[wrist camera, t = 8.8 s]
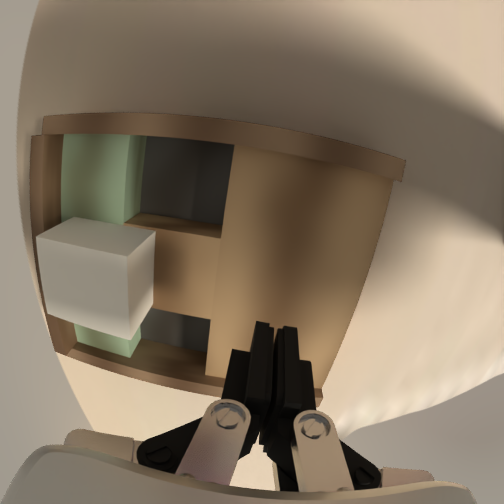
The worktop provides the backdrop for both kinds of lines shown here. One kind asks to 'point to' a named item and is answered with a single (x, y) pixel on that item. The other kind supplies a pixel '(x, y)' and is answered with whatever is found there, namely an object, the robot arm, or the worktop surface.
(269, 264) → the box
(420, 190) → the worktop surface
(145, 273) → the cream block
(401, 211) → the worktop surface
